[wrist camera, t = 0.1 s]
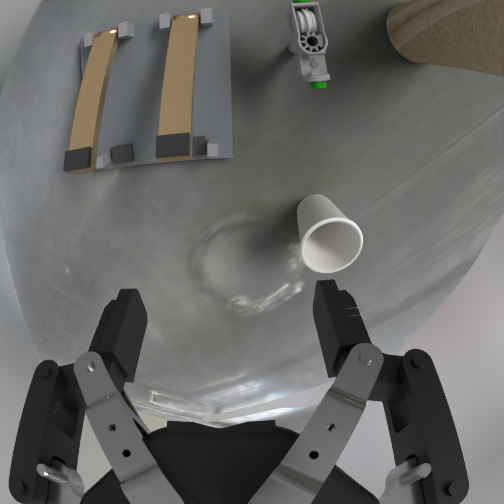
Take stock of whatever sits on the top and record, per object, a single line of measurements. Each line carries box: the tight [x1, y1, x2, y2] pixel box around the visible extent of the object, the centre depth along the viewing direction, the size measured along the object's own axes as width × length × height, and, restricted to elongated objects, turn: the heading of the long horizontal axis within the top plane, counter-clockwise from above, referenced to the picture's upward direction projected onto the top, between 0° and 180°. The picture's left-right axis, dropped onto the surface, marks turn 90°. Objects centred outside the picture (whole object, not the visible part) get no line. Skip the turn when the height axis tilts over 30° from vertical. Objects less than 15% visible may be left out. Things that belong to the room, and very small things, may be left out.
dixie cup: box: [297, 194, 363, 273], centre depth 40 cm, size 8×8×10 cm
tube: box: [386, 0, 504, 77], centre depth 17 cm, size 10×10×25 cm
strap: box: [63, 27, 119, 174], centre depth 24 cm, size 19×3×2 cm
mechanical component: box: [286, 0, 330, 89], centre depth 26 cm, size 3×10×10 cm, turn 11°
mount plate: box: [80, 8, 233, 171], centre depth 30 cm, size 20×20×4 cm
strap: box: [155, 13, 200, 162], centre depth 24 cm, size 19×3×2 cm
